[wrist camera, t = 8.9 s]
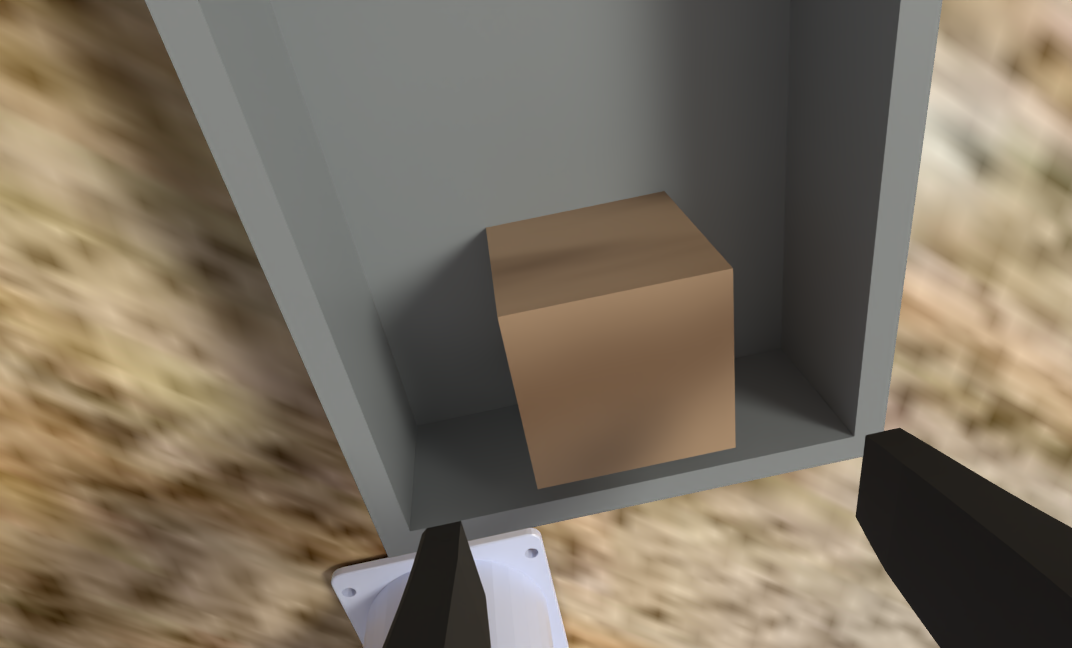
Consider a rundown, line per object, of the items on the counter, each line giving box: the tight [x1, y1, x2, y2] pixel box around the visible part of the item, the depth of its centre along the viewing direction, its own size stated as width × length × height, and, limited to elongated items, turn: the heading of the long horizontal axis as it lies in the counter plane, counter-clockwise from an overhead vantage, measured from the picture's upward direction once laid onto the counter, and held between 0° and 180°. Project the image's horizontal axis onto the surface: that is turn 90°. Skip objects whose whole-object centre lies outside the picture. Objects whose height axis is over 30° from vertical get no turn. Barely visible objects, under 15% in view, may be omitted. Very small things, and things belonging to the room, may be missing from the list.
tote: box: [145, 0, 942, 558], centre depth 15 cm, size 18×14×5 cm
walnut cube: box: [486, 191, 736, 489], centre depth 17 cm, size 5×5×5 cm
